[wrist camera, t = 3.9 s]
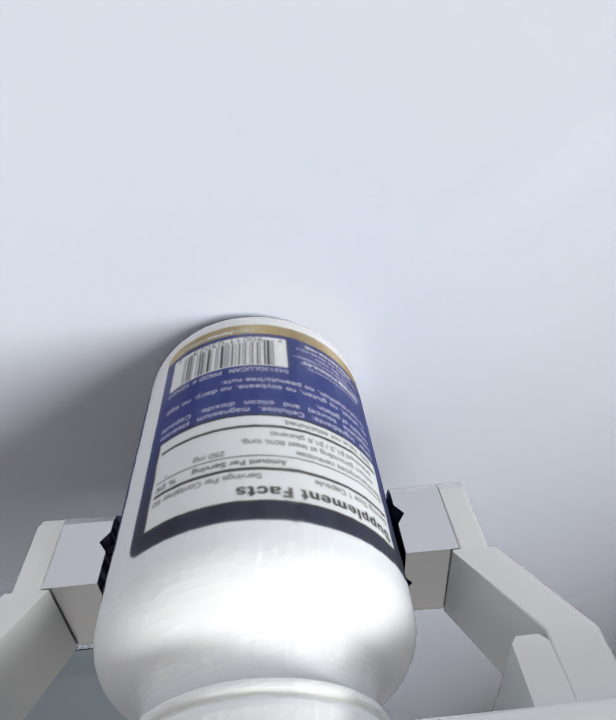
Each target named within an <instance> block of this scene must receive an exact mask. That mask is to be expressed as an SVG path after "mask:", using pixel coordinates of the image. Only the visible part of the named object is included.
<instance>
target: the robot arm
mask: <svg viewBox="0 0 616 720" xmlns="http://www.w3.org/2000/svg"><path fill="white" fill-rule="evenodd" d="M386 501H387V505H388V509H389V513H390V517H391V521H392V525H393V528H394V532H395V536H396V539H397V543H398V547H399V551H400V555H401V559H402V562H403V566H404V571H405V575H406V578H407V581H408V584H409V589H410V595H411V600H412V605H413V610H423V609H437V608H444V611H445V612H446V613H447V614H448V615H449V616H450V617H451V618H452V619H453V620H454V621H455V623H456V624H457V625H458V626H459V627H460V628H461V629H462V630H463V631H464V632H465V634H466V635H467V636H468V637H469V638H470V639H471V640H472V641H473V642H474V643H475V644H476V646H477V647H478V648H479V649H480V650H481V651H482V652H483V653H484V654H485V655H486V657H487V658H488V659H489V660H490V661H491V662H492V663H493V664H494V665H495V666H496V667H497V669H498V670H499V671H500V672H501V673H502V674H503V678H502V682H501V685H500V689H499V692H498V696H497V700H496V703H495V707H494V710H493V711H491V712H481V713H472V714H463V715H453V716H444V717H435V718H426V719H416V720H616V659H615V657H614V655H613V653H612V651H611V649H610V648H609V646H608V644H607V642H606V640H605V638H604V636H603V634H602V632H601V630H600V628H599V627H598V626H597V625H596V624H595V623H594V622H592V621H591V620H590V619H588V618H587V617H586V616H585V615H583V614H582V613H581V612H579V611H578V610H577V609H576V608H574V607H573V606H572V605H570V604H569V603H568V602H567V601H565V600H564V599H563V598H561V597H560V596H559V595H558V594H556V593H555V592H554V591H552V590H551V589H550V588H549V587H547V586H546V585H545V584H543V583H542V582H541V581H539V580H538V579H537V578H536V577H534V576H533V575H532V574H530V573H529V572H528V571H527V570H525V569H524V568H523V567H521V566H520V565H519V564H518V563H516V562H515V561H514V560H512V559H511V558H510V557H509V556H507V555H506V554H505V553H503V552H502V551H501V550H500V549H498V548H497V547H496V546H487V543H486V541H485V538H484V536H483V534H482V531H481V529H480V526H479V524H478V521H477V519H476V517H475V514H474V512H473V509H472V507H471V504H470V502H469V499H468V497H467V495H466V492H465V490H464V487H463V485H461V484H460V483H459V482H458V483H448V484H438V485H425V486H416V487H406V488H397V489H388V490H387V496H386ZM120 520H121V516H104V517H90V518H75V519H65V520H52V521H43V522H42V523H41V525H40V526H39V527H38V528H37V530H36V533H35V536H34V538H33V541H32V543H31V546H30V548H29V551H28V553H27V556H26V558H25V561H24V563H23V566H22V568H21V571H20V573H19V576H18V578H17V581H16V583H15V586H14V588H13V591H12V593H8V594H3V595H2V596H1V597H0V720H23V719H24V718H25V717H26V715H27V714H28V713H29V711H30V710H31V709H32V708H33V706H34V705H35V704H36V702H37V701H38V700H39V698H40V697H41V696H42V694H43V693H44V692H45V690H46V689H47V688H48V686H49V685H50V684H51V682H52V681H53V680H54V679H55V677H56V676H57V675H58V673H59V672H60V671H61V669H62V668H63V667H64V665H65V664H66V663H67V661H68V660H69V659H70V657H71V656H72V655H73V653H74V652H75V651H76V650H77V648H78V646H77V645H82V644H90V643H93V641H94V633H95V628H96V623H97V619H98V613H99V610H100V605H101V600H102V594H103V588H104V584H105V580H106V576H107V573H108V569H109V565H110V561H111V557H112V553H113V549H114V545H115V541H116V537H117V533H118V529H119V524H120Z"/></svg>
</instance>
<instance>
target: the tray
mask: <svg viewBox="0 0 616 720" xmlns="http://www.w3.org/2000/svg"><path fill="white" fill-rule="evenodd" d="M23 720H127V719H126V718H125V717H124V716H123V715H121V713H120V712H119V711H118V710H117V709H116V708H115V707H114V706H113V704H112V703H111V702H110V700H109V699H108V697H107V696H106V694H105V692H104V691H103V689H102V686H101V684H100V682H99V679H98V676H97V672H96V669H95V665H94V650H93V649H89V650H79V651H75V652H74V653H73V655H72V656H71V657H70V659H69V660H68V661H67V663H66V664H65V665H64V667H63V668H62V669H61V671H60V672H59V673H58V675H57V676H56V677H55V679H54V680H53V681H52V682H51V684H50V685H49V686H48V688H47V689H46V690H45V692H44V693H43V694H42V696H41V697H40V698H39V700H38V701H37V702H36V704H35V705H34V706H33V708H32V709H31V710H30V711H29V713H28V714H27V715H26V717H25V718H24V719H23Z"/></svg>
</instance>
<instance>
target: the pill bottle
mask: <svg viewBox="0 0 616 720" xmlns="http://www.w3.org/2000/svg"><path fill="white" fill-rule="evenodd" d="M415 643H416V621H415V615H414V610H413V605H412V600H411V595H410V589H409V584H408V581H407V578H406V575H405V571H404V566H403V562H402V559H401V555H400V551H399V547H398V543H397V539H396V536H395V532H394V528H393V525H392V521H391V517H390V513H389V509H388V505H387V501H386V497H385V494H384V490H383V486H382V482H381V478H380V474H379V470H378V466H377V463H376V459H375V455H374V451H373V447H372V443H371V439H370V435H369V431H368V427H367V423H366V419H365V415H364V412H363V407H362V403H361V399H360V395H359V392H358V389H357V386H356V382H355V379H354V376H353V374H352V372H351V370H350V368H349V366H348V364H347V362H346V361H345V359H344V358H343V356H342V355H341V354H340V353H339V352H338V350H337V349H336V348H335V347H334V346H333V345H332V344H330V343H329V342H328V341H327V340H325V339H324V338H323V337H321V336H320V335H318V334H317V333H315V332H313V331H312V330H310V329H308V328H305V327H303V326H301V325H298V324H295V323H292V322H289V321H286V320H281V319H276V318H269V317H243V318H234V319H229V320H225V321H221V322H218V323H215V324H212V325H209V326H207V327H204V328H203V329H201V330H199V331H197V332H195V333H194V334H192V335H191V336H189V337H188V338H186V339H185V340H184V341H183V342H181V343H180V344H179V345H178V346H177V347H176V348H175V349H174V350H173V351H172V352H171V353H170V354H169V356H168V357H167V358H166V360H165V361H164V363H163V364H162V366H161V368H160V370H159V372H158V374H157V376H156V379H155V382H154V386H153V389H152V392H151V395H150V399H149V402H148V406H147V410H146V415H145V419H144V423H143V427H142V432H141V436H140V440H139V445H138V449H137V453H136V457H135V461H134V466H133V470H132V474H131V479H130V483H129V487H128V491H127V495H126V499H125V503H124V508H123V512H122V516H121V520H120V524H119V529H118V533H117V537H116V541H115V545H114V549H113V553H112V557H111V561H110V565H109V569H108V573H107V576H106V580H105V584H104V588H103V594H102V600H101V605H100V610H99V613H98V619H97V623H96V628H95V633H94V641H93V650H94V665H95V669H96V672H97V676H98V679H99V682H100V684H101V686H102V689H103V691H104V692H105V694H106V696H107V697H108V699H109V700H110V702H111V703H112V704H113V706H114V707H115V708H116V709H117V710H118V711H119V712H120V713H121V715H123V716H124V717H125V718H126V719H127V720H391V719H390V717H389V715H388V714H387V712H386V711H385V710H384V709H383V708H382V707H381V706H382V705H383V704H385V702H386V701H387V700H388V699H389V698H390V696H391V695H392V694H393V693H394V692H395V691H396V690H397V688H398V687H399V685H400V684H401V682H402V681H403V679H404V677H405V675H406V673H407V671H408V669H409V666H410V664H411V661H412V658H413V654H414V650H415Z"/></svg>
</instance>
